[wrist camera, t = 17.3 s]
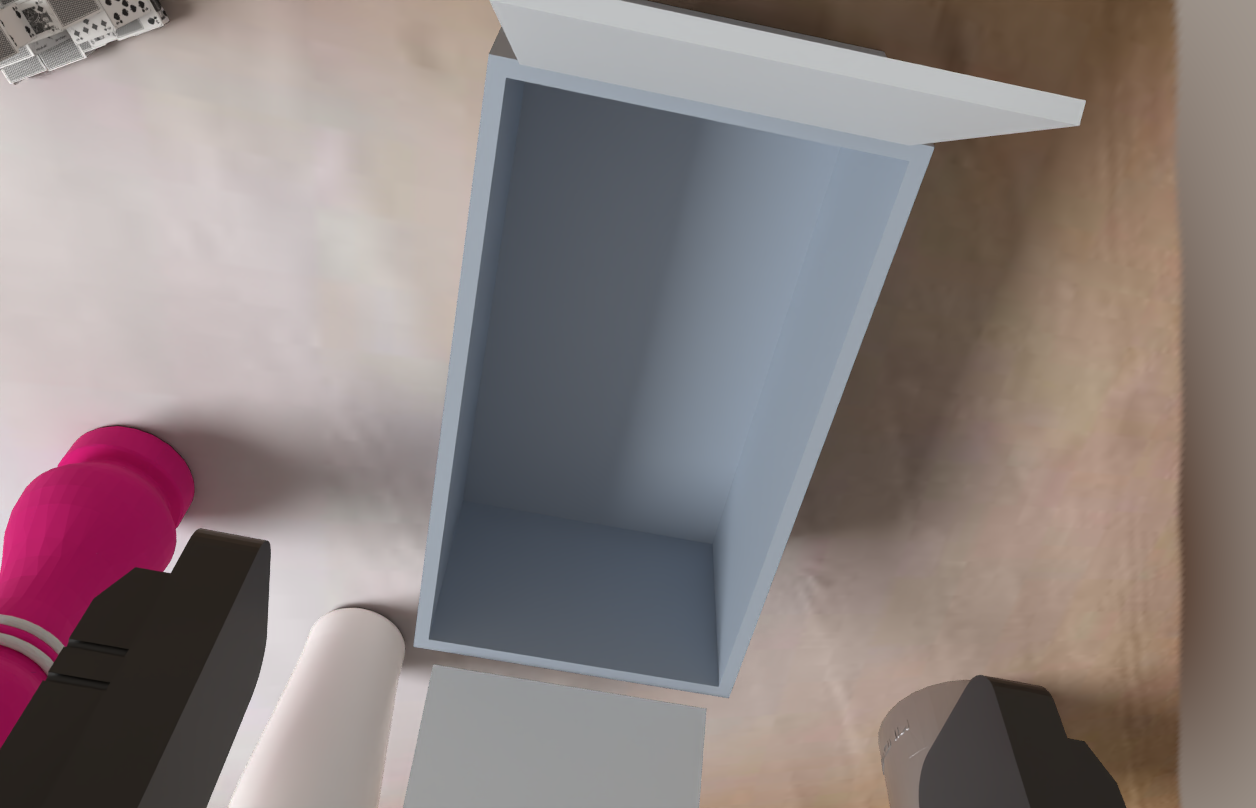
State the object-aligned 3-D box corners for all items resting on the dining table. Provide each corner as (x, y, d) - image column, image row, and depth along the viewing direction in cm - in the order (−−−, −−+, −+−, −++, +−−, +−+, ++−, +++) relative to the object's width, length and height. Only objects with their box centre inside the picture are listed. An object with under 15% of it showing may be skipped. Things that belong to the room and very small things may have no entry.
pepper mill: (112, 542, 58) (-110, 893, 42) (30, 436, 55) (-250, 776, 38) (231, 511, 57) (50, 862, 40) (155, 400, 53) (-80, 738, 36)
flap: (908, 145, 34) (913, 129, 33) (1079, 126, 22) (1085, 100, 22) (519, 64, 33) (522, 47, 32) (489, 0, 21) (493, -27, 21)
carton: (883, 51, 43) (934, 147, 34) (720, 547, 57) (728, 698, 49) (525, -26, 41) (488, 54, 33) (451, 500, 56) (413, 646, 48)
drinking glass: (301, 582, 59) (203, 827, 47) (426, 604, 60) (361, 851, 48) (296, 667, 63) (204, 914, 51) (414, 687, 64) (351, 935, 51)
